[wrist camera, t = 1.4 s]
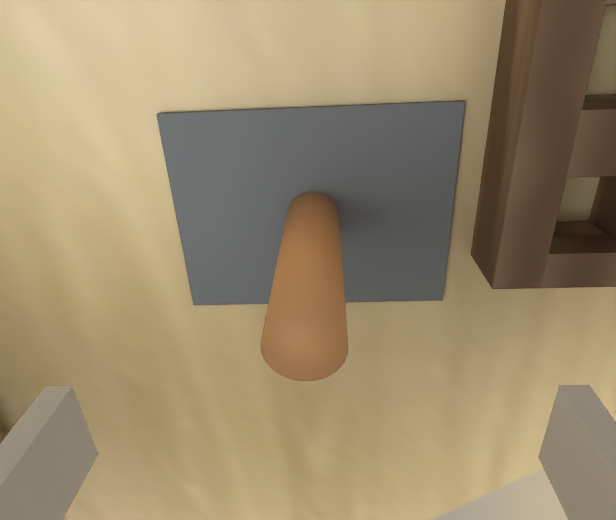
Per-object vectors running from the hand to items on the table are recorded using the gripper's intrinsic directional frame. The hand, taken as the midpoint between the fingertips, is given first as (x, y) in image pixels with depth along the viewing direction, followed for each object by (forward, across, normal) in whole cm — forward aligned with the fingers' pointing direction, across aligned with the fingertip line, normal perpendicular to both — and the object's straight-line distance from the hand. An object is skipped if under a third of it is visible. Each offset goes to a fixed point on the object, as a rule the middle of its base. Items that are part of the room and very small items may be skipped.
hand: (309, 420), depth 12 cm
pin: (+15, 0, 0) cm, 15 cm away
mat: (+16, 0, 0) cm, 16 cm away
